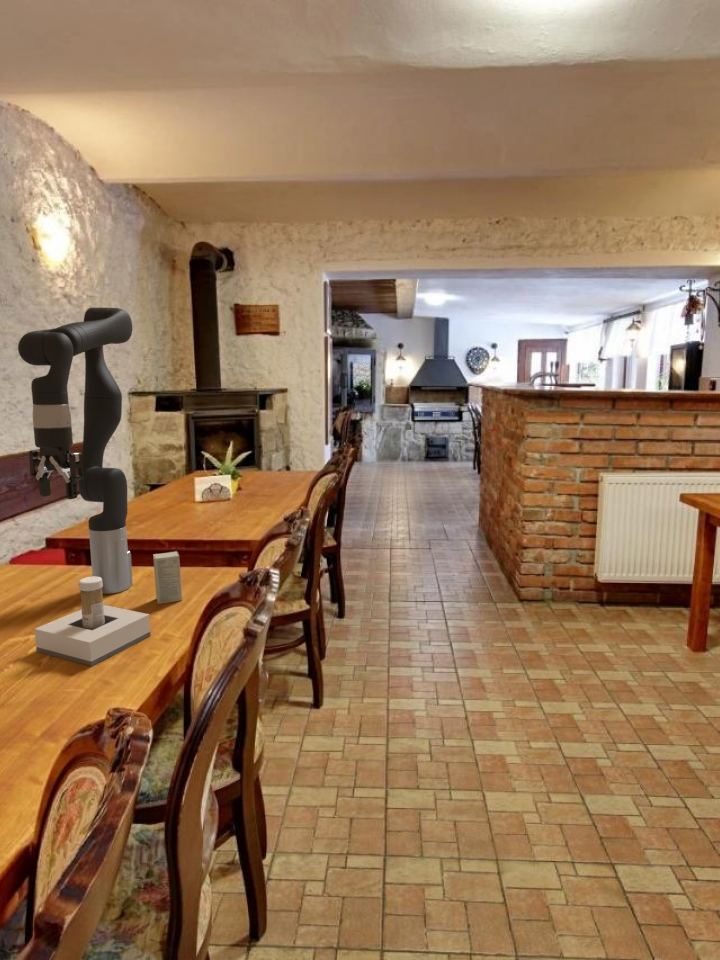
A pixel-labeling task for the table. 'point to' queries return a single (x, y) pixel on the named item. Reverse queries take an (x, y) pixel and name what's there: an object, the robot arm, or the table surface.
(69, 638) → the socket block
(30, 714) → the table surface
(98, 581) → the sprinkles bottle
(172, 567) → the skincare box
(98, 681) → the table surface
